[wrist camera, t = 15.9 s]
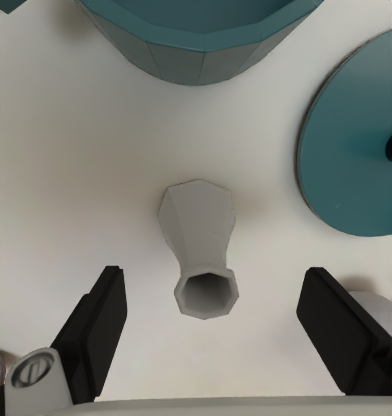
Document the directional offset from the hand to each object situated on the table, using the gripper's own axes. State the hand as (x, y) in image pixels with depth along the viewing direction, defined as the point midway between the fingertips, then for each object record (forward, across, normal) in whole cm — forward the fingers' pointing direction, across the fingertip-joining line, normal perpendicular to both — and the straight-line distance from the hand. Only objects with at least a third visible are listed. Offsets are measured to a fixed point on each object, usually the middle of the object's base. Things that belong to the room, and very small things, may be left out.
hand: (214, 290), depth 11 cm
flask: (+10, +1, 0) cm, 10 cm away
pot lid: (+9, -16, -7) cm, 20 cm away
